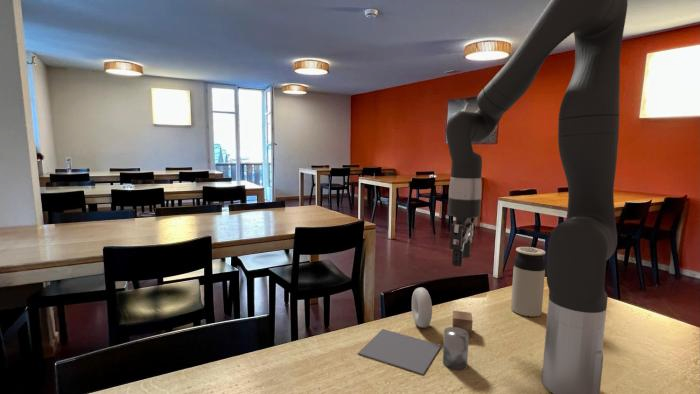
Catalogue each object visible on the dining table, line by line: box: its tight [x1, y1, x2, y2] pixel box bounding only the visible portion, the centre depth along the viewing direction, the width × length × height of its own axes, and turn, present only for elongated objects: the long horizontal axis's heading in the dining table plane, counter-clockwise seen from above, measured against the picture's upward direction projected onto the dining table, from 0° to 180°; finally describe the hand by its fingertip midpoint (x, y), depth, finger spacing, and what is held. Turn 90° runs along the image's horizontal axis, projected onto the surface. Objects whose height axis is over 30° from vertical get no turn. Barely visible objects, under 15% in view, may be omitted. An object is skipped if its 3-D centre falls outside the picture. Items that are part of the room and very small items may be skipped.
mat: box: [357, 328, 442, 376], centre depth 84 cm, size 15×13×1 cm
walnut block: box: [451, 310, 474, 339], centre depth 92 cm, size 4×4×4 cm
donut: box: [411, 287, 433, 328], centre depth 95 cm, size 10×4×10 cm, turn 5°
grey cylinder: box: [442, 326, 470, 372], centre depth 78 cm, size 5×5×7 cm
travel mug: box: [510, 246, 547, 318], centre depth 104 cm, size 8×8×18 cm
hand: (461, 261), depth 91 cm, fingers open, 8 cm apart
